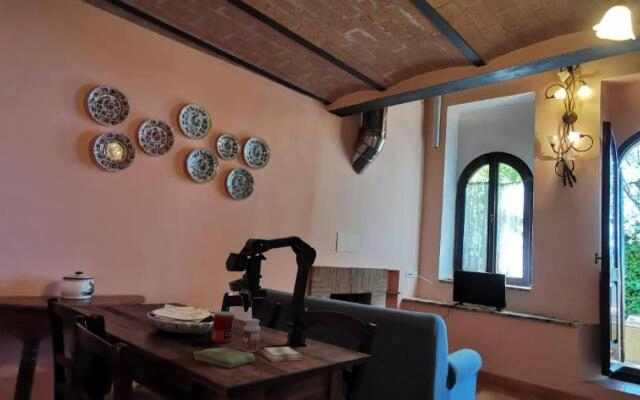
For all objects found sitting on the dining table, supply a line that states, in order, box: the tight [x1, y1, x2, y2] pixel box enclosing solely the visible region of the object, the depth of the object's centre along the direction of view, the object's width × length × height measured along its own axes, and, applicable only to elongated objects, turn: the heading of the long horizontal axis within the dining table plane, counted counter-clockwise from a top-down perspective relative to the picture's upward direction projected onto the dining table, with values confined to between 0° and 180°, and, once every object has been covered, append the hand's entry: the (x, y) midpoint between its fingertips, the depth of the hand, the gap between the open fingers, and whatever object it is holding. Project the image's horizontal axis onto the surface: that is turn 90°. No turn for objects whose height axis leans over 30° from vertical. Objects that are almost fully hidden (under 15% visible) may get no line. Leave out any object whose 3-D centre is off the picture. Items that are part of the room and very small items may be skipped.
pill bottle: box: [241, 318, 261, 353], centre depth 155 cm, size 6×6×11 cm
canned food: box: [211, 310, 235, 345], centre depth 166 cm, size 8×8×11 cm
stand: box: [258, 346, 305, 363], centre depth 149 cm, size 12×12×2 cm
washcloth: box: [192, 347, 256, 369], centre depth 139 cm, size 13×18×3 cm
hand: (249, 314), depth 157 cm, fingers open, 9 cm apart
